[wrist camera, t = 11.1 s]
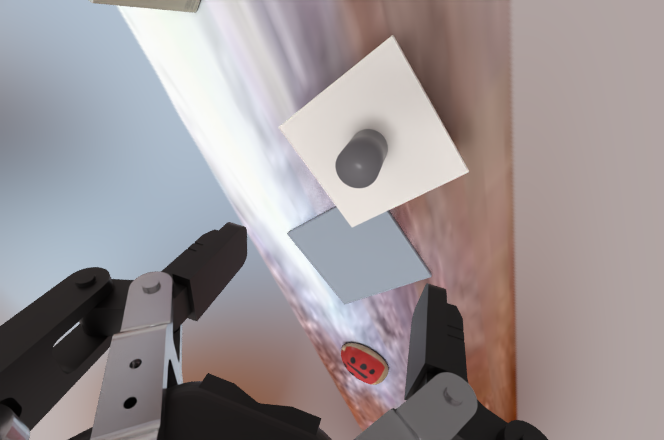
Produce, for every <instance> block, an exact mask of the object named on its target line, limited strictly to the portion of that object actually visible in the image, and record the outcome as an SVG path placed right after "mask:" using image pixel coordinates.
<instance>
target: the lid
mask: <svg viewBox="0 0 664 440" xmlns="http://www.w3.org/2000/svg"><path fill="white" fill-rule="evenodd" d="M278 128H279V129H280V130H281V132H282V133H283V134H284V136H285V137H286V138H287V140H288V141H289V143H290V144H291V145H292V147H293V148H294V149H295V151H296V152H297V153H298V155H299V156H300V158H301V159H302V160H303V162H304V163H305V164H306V166H307V167H308V168H309V170H310V171H311V173H312V174H313V175H314V177H315V178H316V179H317V181H318V182H319V184H320V185H321V186H322V188H323V189H324V190H325V192H326V193H327V194H328V196H329V197H330V199H331V200H332V201H333V203H334V204H335V205H336V207H337V208H338V209H339V211H340V212H341V214H342V215H343V216H344V218H345V219H346V220H347V222H348V223H349V224H350V226H351V227H354V226H357V225H359V224H361V223H363V222H365V221H367V220H369V219H371V218H373V217H376V216H378V215H380V214H382V213H384V212H386V211H388V210H390V209H392V208H394V207H397V206H399V205H401V204H403V203H405V202H407V201H409V200H411V199H413V198H416V197H418V196H420V195H422V194H424V193H426V192H428V191H430V190H432V189H434V188H437V187H439V186H441V185H443V184H445V183H447V182H449V181H451V180H453V179H455V178H458V177H460V176H462V175H464V174H466V173H468V172H469V170H468V167H467V166H466V164H465V162H464V160H463V158H462V157H461V155H460V153H459V151H458V150H457V148H456V146H455V144H454V142H453V141H452V139H451V137H450V135H449V133H448V132H447V130H446V128H445V126H444V124H443V123H442V121H441V119H440V117H439V115H438V114H437V112H436V110H435V108H434V107H433V105H432V103H431V101H430V99H429V98H428V96H427V94H426V92H425V90H424V89H423V87H422V85H421V83H420V81H419V80H418V78H417V76H416V74H415V72H414V71H413V69H412V67H411V65H410V64H409V62H408V60H407V58H406V56H405V55H404V53H403V51H402V49H401V47H400V46H399V44H398V42H397V40H396V38H395V37H394V35H392V36H391V37H389V38H388V39H387V40H386V41H384V42H383V43H382V44H381V45H380V46H378V47H377V48H376V49H375V50H373V51H372V52H371V53H370V54H368V55H367V56H366V57H365V58H363V59H362V60H361V61H360V62H358V63H357V64H356V65H355V66H354V67H352V68H351V69H350V70H349V71H347V72H346V73H345V74H344V75H342V76H341V77H340V78H339V79H337V80H336V81H335V82H334V83H332V84H331V85H330V86H329V87H327V88H326V89H325V90H324V91H323V92H321V93H320V94H319V95H318V96H316V97H315V98H314V99H313V100H311V101H310V102H309V103H308V104H306V105H305V106H304V107H303V108H301V109H300V110H299V111H298V112H297V113H295V114H294V115H293V116H292V117H290V118H289V119H288V120H287V121H285V122H284V123H283V124H282V125H280V126H279V127H278Z"/></svg>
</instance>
